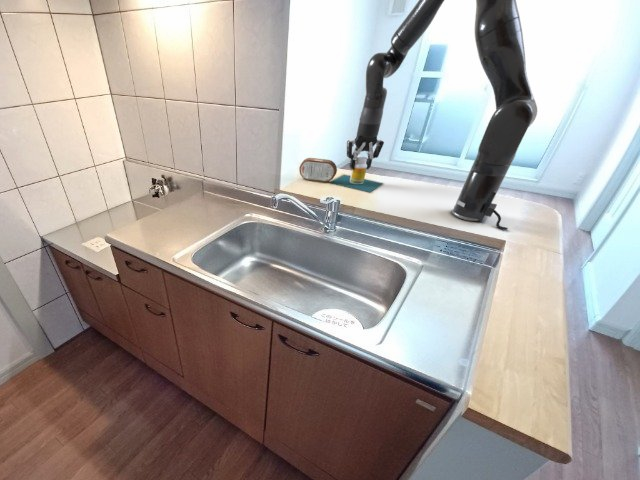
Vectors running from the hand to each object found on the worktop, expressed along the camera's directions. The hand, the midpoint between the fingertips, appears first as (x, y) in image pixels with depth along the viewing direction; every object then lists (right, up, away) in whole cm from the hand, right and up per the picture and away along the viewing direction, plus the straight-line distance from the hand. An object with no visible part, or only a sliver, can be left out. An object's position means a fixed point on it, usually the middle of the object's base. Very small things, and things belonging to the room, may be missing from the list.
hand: (359, 168), depth 128 cm
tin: (-16, -3, +6) cm, 17 cm away
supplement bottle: (0, -4, +4) cm, 6 cm away
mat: (0, -4, +4) cm, 6 cm away
